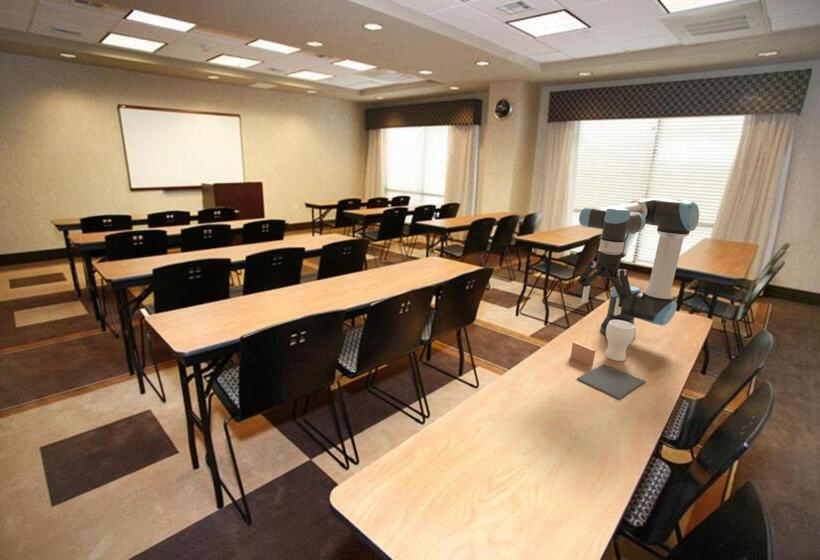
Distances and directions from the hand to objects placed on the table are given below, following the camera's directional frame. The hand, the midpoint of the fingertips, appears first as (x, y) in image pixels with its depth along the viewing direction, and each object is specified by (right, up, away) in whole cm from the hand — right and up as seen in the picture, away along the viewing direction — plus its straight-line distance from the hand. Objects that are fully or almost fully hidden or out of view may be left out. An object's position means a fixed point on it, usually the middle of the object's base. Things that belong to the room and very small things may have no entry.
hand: (599, 308), depth 150 cm
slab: (0, -23, +17) cm, 29 cm away
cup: (+17, -22, +22) cm, 35 cm away
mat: (+5, -27, +3) cm, 28 cm away
